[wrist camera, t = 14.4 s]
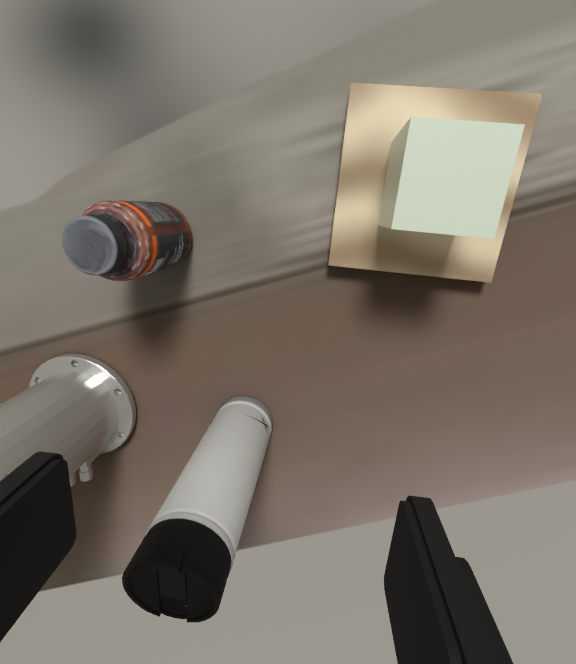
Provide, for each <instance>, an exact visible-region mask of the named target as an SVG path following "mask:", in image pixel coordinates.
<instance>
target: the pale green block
mask: <svg viewBox="0 0 576 664" xmlns="http://www.w3.org/2000/svg"><path fill="white" fill-rule="evenodd" d="M524 126H525V124H512V123H497V122H483V121H469V120H454V119H440V118H425V117H410V119H409V120H408V121H407V122H406V124H405V125H404V126H403V128H402V129H401V130H400V131H399V133H398V134H397V135H396V137H395V138H394V139H393V140H392V143H391V149H390V155H389V161H388V167H387V173H386V179H385V185H384V191H383V197H382V204H381V210H380V216H379V222H378V225H379V226H382V227H386V228H389V229H396V230H406V231H416V232H427V233H437V234H447V235H457V236H468V237H478V238H488V239H494V238H495V235H496V231H497V227H498V224H499V220H500V216H501V212H502V209H503V205H504V201H505V197H506V194H507V190H508V186H509V182H510V179H511V175H512V171H513V168H514V164H515V160H516V156H517V153H518V149H519V145H520V141H521V138H522V134H523V130H524Z"/></svg>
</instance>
